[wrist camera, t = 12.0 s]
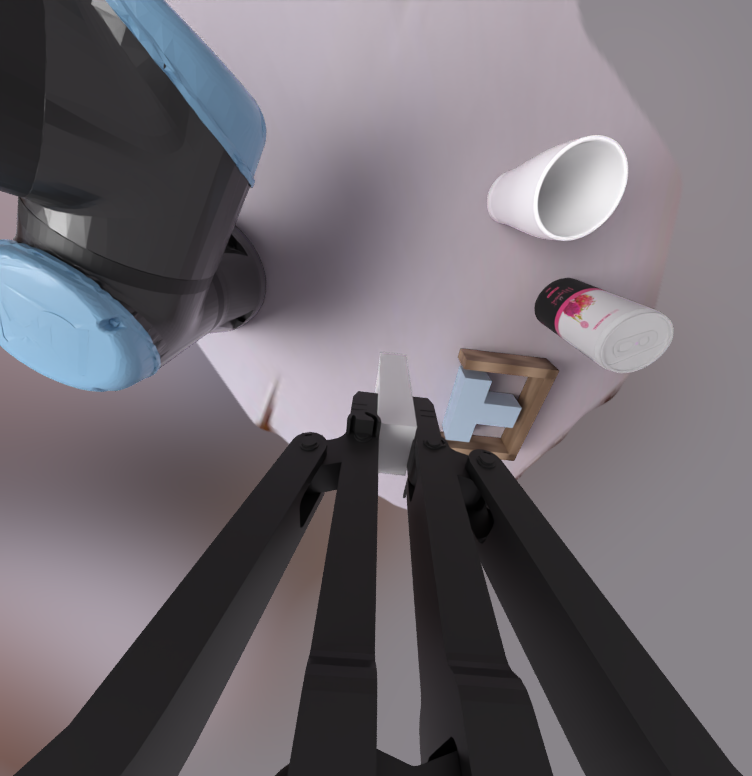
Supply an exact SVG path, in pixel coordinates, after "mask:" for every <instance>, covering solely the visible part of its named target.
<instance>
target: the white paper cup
mask: <svg viewBox="0 0 752 776" xmlns="http://www.w3.org/2000/svg"><path fill="white" fill-rule="evenodd" d="M627 180H628V161H627V157H626V154H625V152H624V150H623V148H622V147H621V146H620V145H619V144H618V143H617V142H616V141H615V140H613V139H611V138H609V137H606V136H602V135H591V136H586V137H583V138H578V139H574V140H571V141H568V142H565V143H562V144H559V145H557V146H554V147H552V148H550V149H548V150H546V151H544V152H542V153H540V154H538V155H537V156H535V157H533V158H532V159H530V160H528V161H526V162H525V163H523V164H521V165H520V166H518V167H516V168H514V169H512V170H509V171H507V172H505V173H503V174H502V175H500V176H499V177H498V178H497V179H496V180H495V182H494V183H493V184H492V186H491V188H490V190H489V193H488V197H487V209H488V212H489V214H490V216H491V217H492V218H493V219H494V220H495V221H496V222H498V223H501V224H506V225H508V226H511V227H513V228H515V229H517V230H519V231H522V232H524V233H526V234H529V235H531V236H534V237H538V238H542V239H548V240H559V241H570V240H575V239H579V238H581V237H584V236H586V235H588V234H590V233H591V232H593V231H594V230H596V229H597V228H599V227H600V226H601V225H602V224H603V223H604V222H605V221H606V220H607V219H608V218H609V217H610V216H611V214H612V213H613V212H614V210H615V209H616V207H617V206H618V204H619V202H620V200H621V198H622V196H623V194H624V191H625V188H626V184H627Z"/></svg>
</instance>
